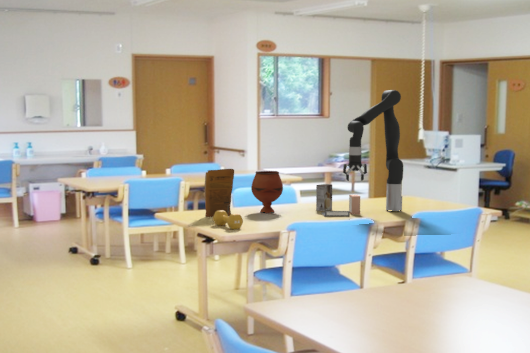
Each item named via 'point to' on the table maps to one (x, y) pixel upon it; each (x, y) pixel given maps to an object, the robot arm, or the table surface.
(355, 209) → the shelf carton
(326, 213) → the shelf board
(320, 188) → the coffee box
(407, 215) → the table surface
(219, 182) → the pancake mix bag
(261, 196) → the goblet
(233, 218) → the dumbbell
